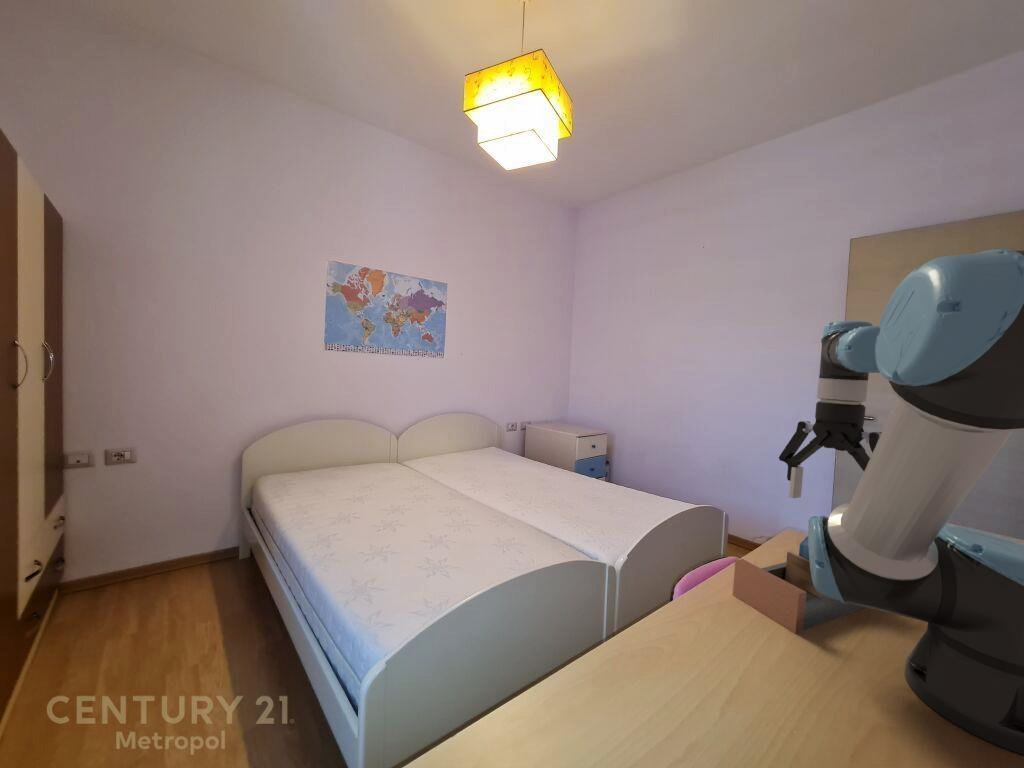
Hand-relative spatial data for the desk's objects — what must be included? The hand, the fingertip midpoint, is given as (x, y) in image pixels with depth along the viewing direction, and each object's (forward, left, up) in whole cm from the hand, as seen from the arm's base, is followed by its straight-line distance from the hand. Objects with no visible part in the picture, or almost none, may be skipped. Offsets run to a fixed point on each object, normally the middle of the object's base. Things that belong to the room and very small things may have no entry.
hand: (830, 508), depth 81 cm
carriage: (0, -2, -16) cm, 16 cm away
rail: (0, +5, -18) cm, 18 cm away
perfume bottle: (0, 0, -15) cm, 15 cm away
